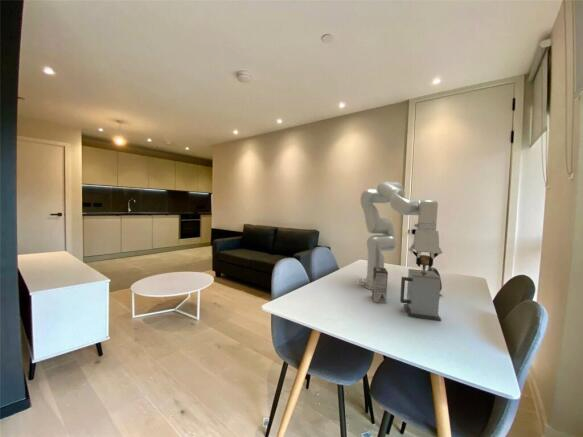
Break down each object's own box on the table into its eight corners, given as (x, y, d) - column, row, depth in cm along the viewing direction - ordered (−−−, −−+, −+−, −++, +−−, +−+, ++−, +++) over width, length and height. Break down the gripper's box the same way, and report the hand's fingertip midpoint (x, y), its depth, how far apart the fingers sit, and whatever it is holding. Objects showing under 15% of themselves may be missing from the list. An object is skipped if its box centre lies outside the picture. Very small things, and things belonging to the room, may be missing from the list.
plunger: (413, 301, 115) (416, 257, 113) (409, 294, 123) (412, 253, 122) (435, 303, 112) (438, 258, 111) (430, 296, 121) (432, 254, 120)
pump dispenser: (436, 291, 150) (437, 265, 149) (444, 297, 140) (446, 270, 139) (418, 289, 151) (419, 264, 150) (425, 296, 141) (427, 269, 140)
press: (402, 315, 114) (404, 274, 113) (397, 304, 127) (400, 267, 126) (440, 321, 110) (444, 278, 109) (432, 309, 123) (435, 270, 122)
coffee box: (371, 295, 139) (373, 266, 138) (383, 297, 137) (385, 267, 136) (373, 302, 130) (375, 271, 129) (386, 303, 128) (388, 272, 127)
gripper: (408, 226, 114) (406, 266, 115) (450, 228, 110) (447, 270, 111) (405, 225, 122) (403, 262, 123) (444, 227, 117) (441, 266, 118)
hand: (424, 266), depth 117 cm, fingers closed on plunger, 4 cm apart
